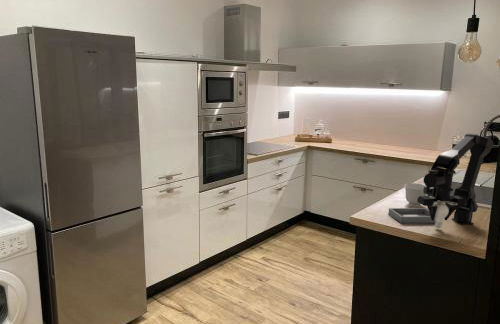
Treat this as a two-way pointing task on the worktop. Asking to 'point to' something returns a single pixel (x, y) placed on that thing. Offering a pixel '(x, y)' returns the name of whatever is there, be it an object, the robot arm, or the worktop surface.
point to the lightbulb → (440, 214)
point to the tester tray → (411, 215)
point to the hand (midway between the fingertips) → (438, 220)
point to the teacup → (414, 193)
